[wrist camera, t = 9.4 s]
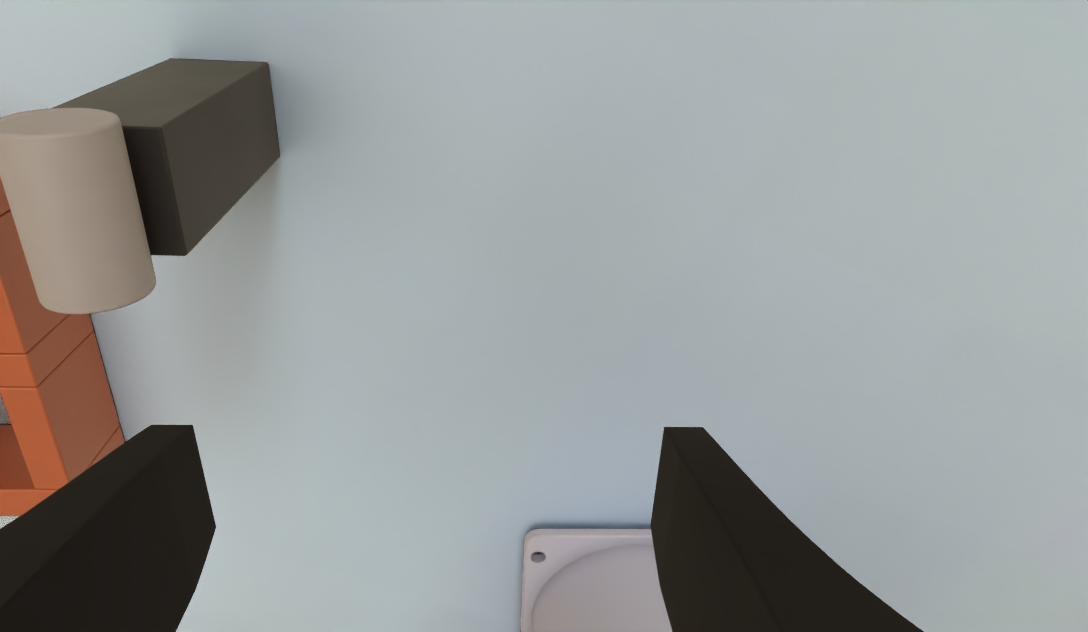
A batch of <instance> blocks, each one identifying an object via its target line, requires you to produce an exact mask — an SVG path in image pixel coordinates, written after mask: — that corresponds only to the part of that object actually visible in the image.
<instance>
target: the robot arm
mask: <svg viewBox="0 0 1088 632" xmlns="http://www.w3.org/2000/svg"><path fill="white" fill-rule="evenodd" d="M215 529H216V525H215V521H214V516H213V512H212V508H211V503H210V499H209V494H208V490H207V486H206V481H205V477H204V473H203V468H202V464H201V459H200V455H199V451H198V446H197V442H196V437H195V433H194V429H193V425H151V426H149V427H147V428H146V429H144V430H143V431H141V432H139V433H138V434H136V435H135V436H133V437H132V438H131V439H129V440H128V441H126V442H125V443H123V444H122V445H120V446H119V447H118V448H116V449H115V450H113V451H112V452H110V453H109V454H108V455H106V456H105V457H103V458H102V459H101V460H99V461H98V462H96V463H95V464H94V465H92V466H91V467H90V468H88V469H87V470H85V471H84V472H83V473H81V474H80V475H78V476H77V477H75V478H74V479H73V480H71V481H70V482H68V483H67V484H66V485H64V486H63V487H61V488H60V489H58V490H57V491H56V492H54V493H53V494H51V495H50V496H48V497H47V498H46V499H44V500H43V501H41V502H40V503H39V504H37V505H36V506H34V507H33V508H31V509H30V510H29V511H27V512H26V513H24V514H23V515H21V516H20V517H18V518H17V519H15V520H14V521H12V522H10V523H9V524H7V525H6V526H4V527H3V528H1V529H0V632H176V630H177V628H178V626H179V623H180V621H181V619H182V617H183V615H184V613H185V611H186V609H187V607H188V605H189V602H190V600H191V598H192V596H193V594H194V592H195V589H196V587H197V584H198V581H199V578H200V575H201V572H202V569H203V566H204V564H205V561H206V557H207V554H208V551H209V548H210V545H211V541H212V538H213V535H214V532H215ZM534 552H542V553H541V554H534ZM520 632H923V631H922V630H921V629H919V628H918V627H916V626H915V625H914V624H912V623H911V622H910V621H908V620H907V619H905V618H904V617H903V616H901V615H900V614H899V613H897V612H896V611H895V610H894V609H892V608H891V607H890V606H888V605H887V604H886V603H885V602H883V601H882V600H881V599H880V598H878V597H877V596H876V595H874V594H873V593H872V592H871V591H869V590H868V589H867V588H866V587H864V586H863V585H862V584H860V583H859V582H858V581H857V580H856V579H854V578H853V577H852V576H851V575H850V574H848V573H847V572H846V571H845V570H844V569H842V568H841V567H840V566H839V565H838V564H837V563H836V562H834V561H833V560H832V559H831V558H830V557H829V556H828V555H827V554H826V553H825V552H823V551H822V550H821V549H820V548H819V547H818V546H817V545H816V544H815V543H814V542H812V541H811V540H810V539H809V538H808V537H807V536H806V535H805V534H804V533H803V532H802V531H801V530H800V529H798V528H797V527H796V526H795V525H794V524H793V523H792V522H791V521H790V520H789V519H788V518H787V517H786V516H785V515H784V514H783V513H782V512H781V511H780V510H779V509H778V508H777V507H776V506H775V505H774V504H773V503H772V502H771V501H770V500H769V499H768V497H767V496H766V495H765V494H764V493H763V492H762V491H761V490H760V489H759V488H758V487H757V486H756V485H755V484H754V483H753V482H752V481H751V479H750V478H749V477H748V476H747V475H746V474H745V473H744V472H743V471H742V470H741V469H740V468H739V466H738V465H737V464H736V463H735V462H734V461H733V460H732V459H731V458H730V456H729V455H728V454H727V453H726V452H725V451H724V450H723V449H722V448H721V447H720V445H719V444H718V443H717V442H716V441H715V440H714V439H713V438H712V437H711V436H710V435H709V433H708V432H707V431H706V430H705V429H704V428H703V427H664V433H663V440H662V447H661V454H660V461H659V469H658V476H657V483H656V490H655V497H654V504H653V512H652V519H651V529H534V530H532V531H529V532H528V533H527V534H526V535H525V538H524V554H523V577H522V599H521V622H520Z"/></svg>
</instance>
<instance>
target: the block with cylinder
mask: <svg viewBox="0 0 1088 632" xmlns="http://www.w3.org/2000/svg"><path fill="white" fill-rule="evenodd" d="M279 157H280V152H279V144H278V136H277V128H276V120H275V112H274V104H273V96H272V88H271V80H270V72H269V65H268V63H266V62H247V61H222V60H196V59H168V60H166V61H163V62H161V63H159V64H156V65H154V66H152V67H149V68H147V69H144V70H142V71H140V72H137V73H135V74H132V75H130V76H128V77H125V78H123V79H120V80H118V81H116V82H113V83H111V84H109V85H106V86H104V87H101V88H99V89H97V90H94V91H92V92H89V93H87V94H85V95H82V96H80V97H77V98H75V99H73V100H70V101H68V102H66V103H63V104H61V105H58V106H56V107H54V108H51V109H42V110H33V111H26V112H21V113H15V114H11V115H7V116H4V117H1V118H0V177H1V180H2V184H3V187H4V190H5V193H6V196H7V200H8V203H9V206H10V209H11V212H12V216H13V219H14V222H15V225H16V228H17V232H18V235H19V238H20V241H21V244H22V248H23V251H24V254H25V257H26V261H27V264H28V267H29V270H30V273H31V277H32V280H33V283H34V286H35V289H36V293H37V296H38V299H39V302H40V303H41V304H42V305H43V306H44V307H45V308H46V309H48V310H50V311H53V312H57V313H63V314H92V313H99V312H105V311H110V310H114V309H118V308H121V307H124V306H127V305H130V304H132V303H135V302H137V301H139V300H141V299H143V298H144V297H146V296H147V295H148V294H150V293H151V292H152V290H153V289H154V287H155V285H156V277H155V272H154V268H153V264H152V259H151V255H172V256H185V255H187V254H188V253H189V252H190V251H191V250H192V249H193V248H194V247H195V246H196V245H197V244H198V243H199V242H200V241H201V239H202V238H203V237H204V236H205V235H206V234H207V233H208V232H209V231H210V230H211V229H212V228H213V227H214V226H215V225H216V224H217V223H218V222H219V220H220V219H221V218H222V217H223V216H224V215H225V214H226V213H227V212H228V211H229V210H230V209H231V208H232V207H233V206H234V205H235V204H236V203H237V201H238V200H239V199H240V198H241V197H242V196H243V195H244V194H245V193H246V192H247V191H248V190H249V189H250V188H251V187H252V186H253V185H254V184H255V182H256V181H257V180H258V179H259V178H260V177H261V176H262V175H263V174H264V173H265V172H266V171H267V170H268V169H269V168H270V167H271V166H272V165H273V163H274V162H275V161H276V160H277V159H278V158H279Z"/></svg>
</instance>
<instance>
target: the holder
mask: <svg viewBox="0 0 1088 632" xmlns="http://www.w3.org/2000/svg"><path fill="white" fill-rule="evenodd" d="M0 394H1V397H2V400H3V403H4V406H5V408H6V411H7V414H8V417H9V419H10V422H11V425H0V516H21V515H23V514H24V513H26V512H27V511H29V510H30V509H31V508H33V507H34V506H36V505H37V504H39V503H40V502H41V501H43V500H44V499H46V498H47V497H48V496H50V495H51V494H53V493H54V492H56V491H57V490H58V489H60V488H61V487H63V486H64V485H66V484H67V483H68V482H70V481H71V480H73V479H74V478H75V477H77V476H78V475H80V474H81V473H83V472H84V471H85V470H87V469H88V468H90V467H91V466H92V465H94V464H95V463H96V462H98V461H99V460H101V459H102V458H103V457H105V456H106V455H108V454H109V453H110V452H112V451H113V450H115V449H116V448H118V447H119V446H120V445H122V444H123V443H125V441H124V438H123V434H122V431H121V427H120V426H119V425H120V423H119V420H118V416H117V413H116V409H115V405H114V402H113V398H112V395H111V391H110V387H109V384H108V380H107V377H106V373H105V369H104V366H103V362H102V359H101V355H100V351H99V348H98V344H97V341H96V337H95V333H94V332H93V326H92V323H91V319H90V315H89V314H63V313H57V312H53V311H50V310H48V309H46V308H45V307H44V306H43V305H42V304H41V303H40V302H39V299H38V296H37V293H36V289H35V286H34V283H33V280H32V277H31V273H30V270H29V267H28V264H27V261H26V257H25V254H24V251H23V248H22V244H21V241H20V238H19V235H18V232H17V228H16V225H15V222H14V219H13V216H12V212H11V209H10V206H9V203H8V200H7V196H6V193H5V190H4V187H3V184H2V180H1V177H0Z"/></svg>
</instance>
